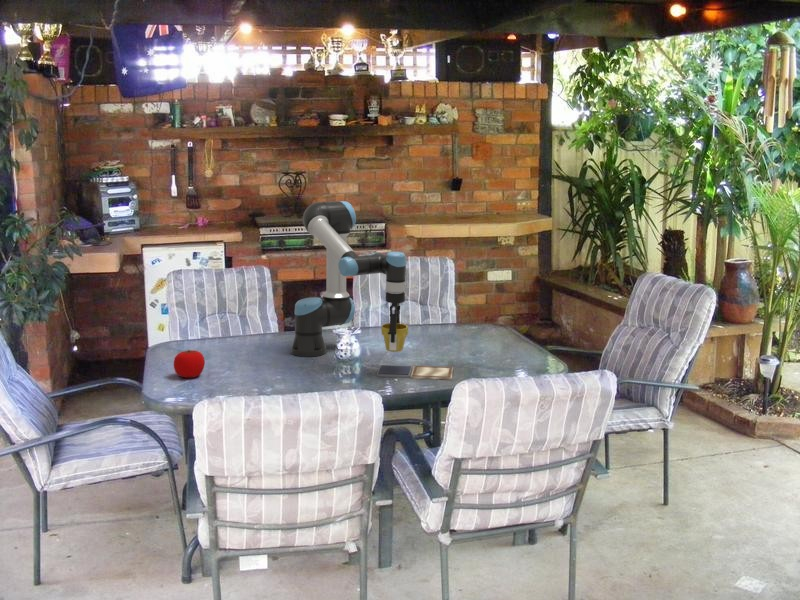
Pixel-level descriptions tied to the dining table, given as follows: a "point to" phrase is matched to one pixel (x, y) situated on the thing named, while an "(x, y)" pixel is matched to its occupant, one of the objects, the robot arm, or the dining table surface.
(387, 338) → the plant pot
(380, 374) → the ink pad
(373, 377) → the dining table surface
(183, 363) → the tomato
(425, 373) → the board
